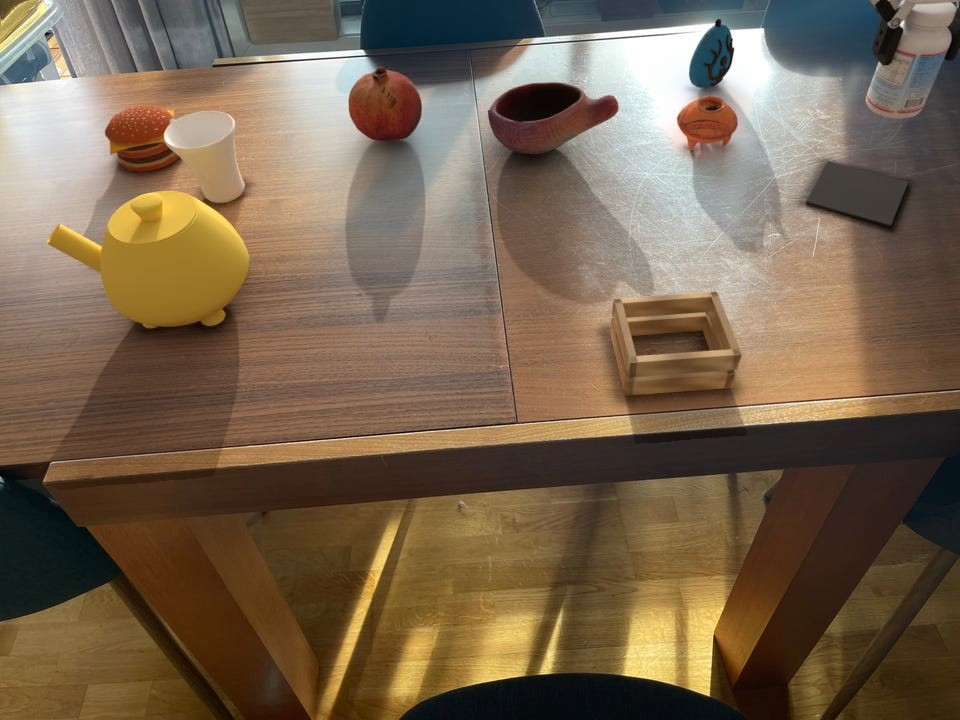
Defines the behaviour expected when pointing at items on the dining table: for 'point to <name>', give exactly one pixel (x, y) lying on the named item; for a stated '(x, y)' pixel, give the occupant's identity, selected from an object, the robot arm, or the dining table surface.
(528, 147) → the bowl
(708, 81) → the ornament
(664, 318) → the crate
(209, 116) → the cup
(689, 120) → the pot
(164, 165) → the hamburger
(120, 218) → the teapot
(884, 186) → the plate
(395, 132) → the fruit
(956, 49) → the robot arm
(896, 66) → the pill bottle
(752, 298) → the dining table surface
